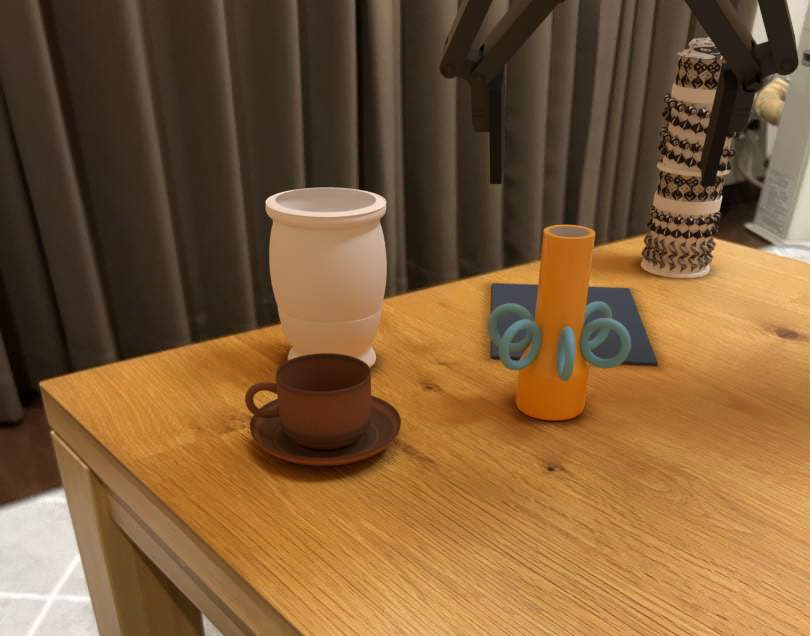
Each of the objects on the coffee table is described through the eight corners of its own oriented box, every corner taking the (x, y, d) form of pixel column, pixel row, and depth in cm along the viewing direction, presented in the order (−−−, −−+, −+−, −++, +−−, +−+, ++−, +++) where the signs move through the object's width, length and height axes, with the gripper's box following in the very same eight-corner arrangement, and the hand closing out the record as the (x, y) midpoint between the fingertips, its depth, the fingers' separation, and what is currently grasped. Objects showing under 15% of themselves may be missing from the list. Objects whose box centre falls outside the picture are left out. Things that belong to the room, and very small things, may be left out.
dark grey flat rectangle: (657, 365, 83) (657, 362, 83) (491, 358, 85) (491, 355, 84) (628, 290, 102) (629, 288, 101) (492, 285, 103) (492, 282, 102)
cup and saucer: (274, 492, 64) (267, 417, 60) (237, 423, 73) (229, 353, 69) (423, 463, 67) (425, 390, 64) (370, 400, 77) (369, 333, 73)
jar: (404, 352, 86) (406, 193, 77) (356, 392, 78) (352, 220, 69) (311, 334, 89) (302, 180, 81) (256, 371, 81) (240, 205, 73)
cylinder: (535, 449, 69) (555, 261, 61) (458, 401, 77) (466, 227, 68) (643, 412, 75) (675, 236, 67) (562, 371, 82) (581, 207, 74)
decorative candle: (635, 254, 113) (670, 34, 99) (708, 258, 112) (754, 36, 98) (638, 276, 106) (677, 41, 91) (717, 281, 105) (768, 44, 90)
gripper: (363, -186, 39) (406, 207, 57) (961, -219, 35) (804, 213, 53) (387, -254, 43) (421, 135, 61) (932, -291, 39) (794, 136, 57)
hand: (600, 172), depth 57 cm, fingers open, 13 cm apart
